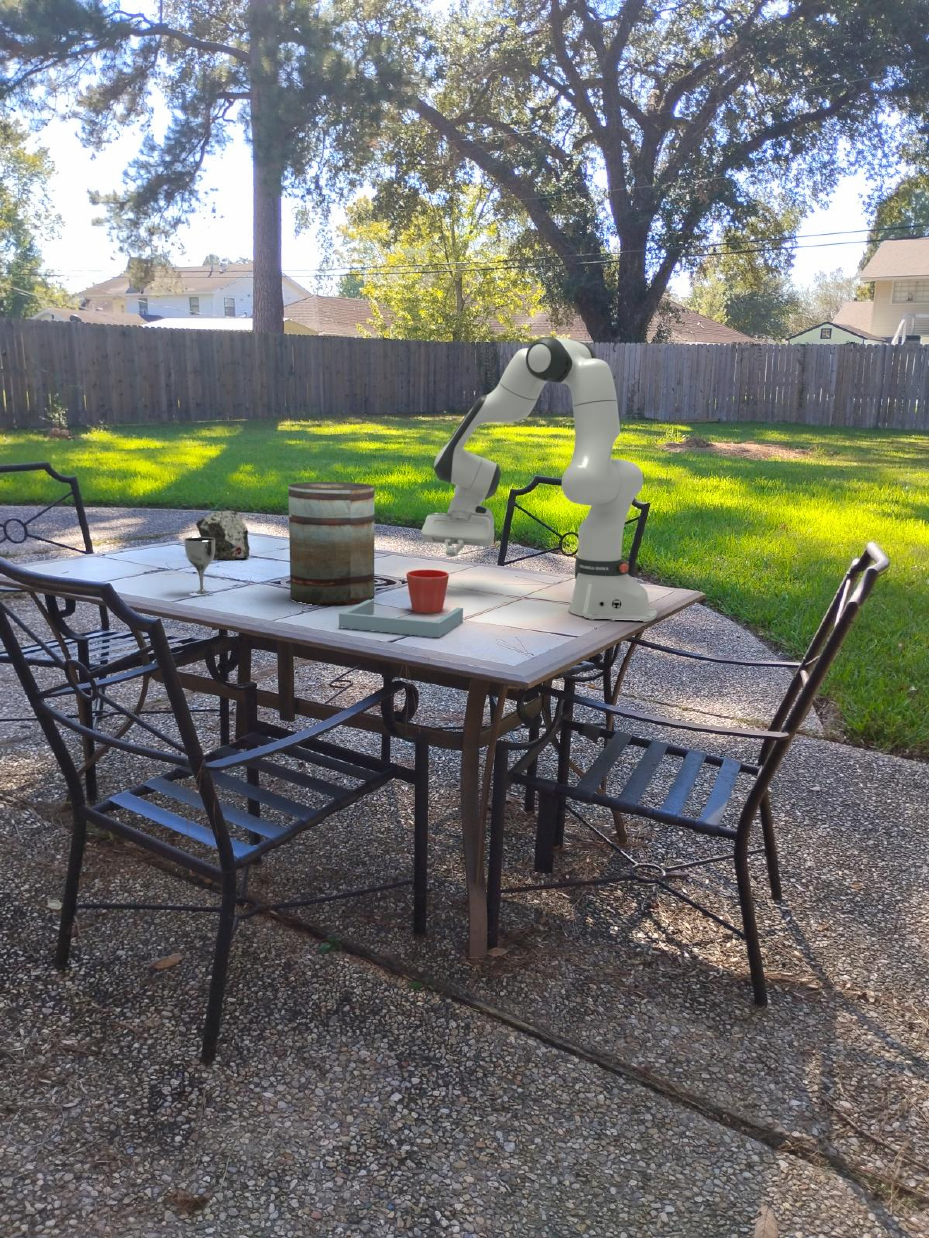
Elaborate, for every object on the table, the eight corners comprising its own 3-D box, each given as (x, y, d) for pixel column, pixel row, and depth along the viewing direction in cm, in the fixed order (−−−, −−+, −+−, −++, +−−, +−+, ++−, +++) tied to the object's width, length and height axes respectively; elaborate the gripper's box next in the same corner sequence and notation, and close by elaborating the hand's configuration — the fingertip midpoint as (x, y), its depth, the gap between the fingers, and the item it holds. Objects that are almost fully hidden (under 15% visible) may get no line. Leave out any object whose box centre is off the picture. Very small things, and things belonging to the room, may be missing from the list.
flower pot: (423, 617, 249) (424, 578, 247) (397, 609, 257) (398, 571, 255) (456, 611, 255) (457, 574, 253) (430, 604, 264) (431, 567, 261)
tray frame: (462, 622, 244) (463, 608, 243) (439, 638, 228) (439, 623, 227) (368, 613, 252) (368, 599, 251) (338, 628, 235) (338, 613, 234)
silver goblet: (203, 589, 276) (201, 535, 272) (223, 593, 271) (221, 538, 268) (180, 594, 269) (178, 539, 266) (200, 598, 265) (197, 542, 261)
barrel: (352, 586, 285) (351, 480, 278) (389, 601, 266) (389, 488, 259) (277, 593, 273) (275, 483, 266) (310, 609, 254) (308, 491, 248)
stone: (188, 568, 323) (188, 528, 315) (200, 539, 338) (200, 500, 330) (246, 575, 325) (247, 535, 316) (256, 546, 340) (257, 508, 331)
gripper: (425, 505, 278) (412, 545, 272) (496, 509, 272) (484, 550, 265) (430, 519, 284) (418, 558, 277) (500, 524, 277) (488, 564, 271)
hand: (451, 554), depth 271 cm, fingers closed
